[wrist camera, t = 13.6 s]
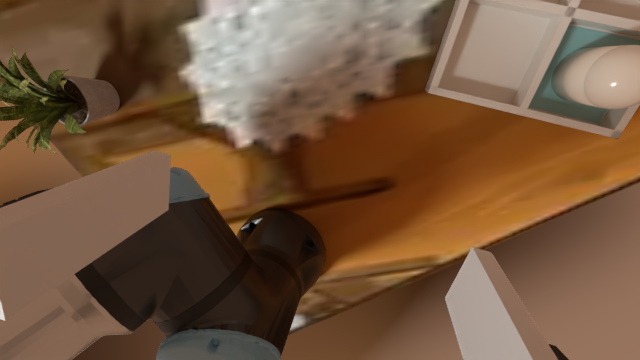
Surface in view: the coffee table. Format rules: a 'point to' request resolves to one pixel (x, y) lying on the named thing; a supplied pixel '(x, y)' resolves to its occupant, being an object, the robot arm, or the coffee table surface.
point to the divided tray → (530, 56)
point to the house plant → (52, 101)
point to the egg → (600, 77)
